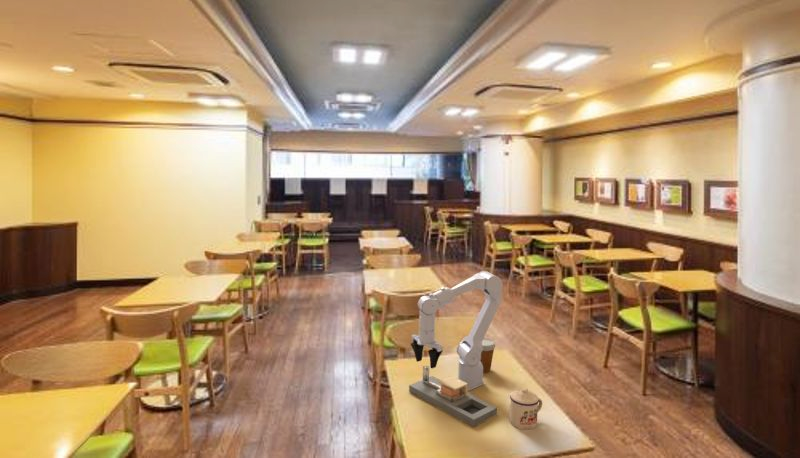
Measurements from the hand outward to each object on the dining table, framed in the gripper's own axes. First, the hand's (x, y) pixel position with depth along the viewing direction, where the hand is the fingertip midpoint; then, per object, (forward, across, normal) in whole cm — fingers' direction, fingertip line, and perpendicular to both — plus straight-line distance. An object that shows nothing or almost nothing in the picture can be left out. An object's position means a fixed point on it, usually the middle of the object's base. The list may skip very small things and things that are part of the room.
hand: (426, 364), depth 177 cm
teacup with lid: (+10, +38, +10) cm, 40 cm away
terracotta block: (+7, +12, 0) cm, 14 cm away
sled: (+7, +8, 0) cm, 10 cm away
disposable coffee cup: (+10, +2, +30) cm, 32 cm away
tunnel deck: (+10, +12, 0) cm, 16 cm away
